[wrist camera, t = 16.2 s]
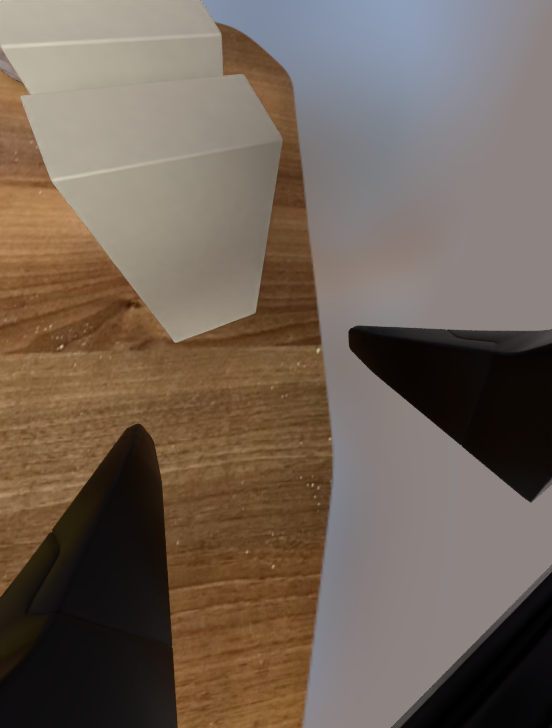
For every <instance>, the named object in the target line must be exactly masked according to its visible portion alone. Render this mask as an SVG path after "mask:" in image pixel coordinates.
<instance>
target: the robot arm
mask: <svg viewBox="0 0 552 728" xmlns="http://www.w3.org/2000/svg"><path fill="white" fill-rule="evenodd" d="M349 347H350V349H351V350H352V352H353V353H354V354H355V355H356V356H357V357H358V358H359V359H360V360H361V361H362V362H363V363H364V364H365V365H366V366H367V367H368V368H369V369H370V370H371V371H372V372H373V373H374V374H375V375H377V376H378V377H379V378H380V379H381V380H383V381H384V382H385V383H386V384H387V385H389V386H390V387H391V388H392V389H393V390H395V391H396V392H397V393H398V394H400V395H401V396H402V397H403V398H404V399H406V400H407V401H408V402H409V403H410V404H412V405H413V406H414V407H415V408H416V409H418V410H419V411H420V412H421V413H423V414H424V415H425V416H426V417H427V418H428V419H430V420H431V421H432V422H433V423H434V424H436V425H437V426H438V427H439V428H441V429H442V430H443V431H444V432H445V433H447V434H448V435H449V436H450V437H451V438H453V439H454V440H455V441H456V442H457V443H459V444H460V445H462V447H463V448H465V449H466V450H467V451H468V452H469V453H470V454H472V455H473V456H474V457H475V458H476V459H478V460H479V461H480V462H481V463H482V464H484V465H485V466H486V467H487V468H489V469H490V470H491V471H492V472H494V474H496V475H497V476H498V477H499V478H501V479H502V480H503V481H504V482H505V483H507V484H508V485H509V486H510V487H511V488H513V489H514V490H515V491H516V492H517V493H519V494H520V495H521V496H522V497H524V498H525V499H526V500H528V501H529V502H533V500H535V499H536V498H537V497H538V496H539V495H541V494H542V493H543V492H544V491H545V490H546V489H547V488H549V487H550V486H551V485H552V329H551V330H543V331H472V330H444V329H423V328H400V327H377V326H355V327H353V328H351V329H350V330H349ZM171 646H172V634H171V619H170V603H169V587H168V571H167V556H166V540H165V524H164V508H163V492H162V480H161V475H160V470H159V465H158V460H157V455H156V450H155V445H154V441H153V439H152V437H151V436H150V435H149V434H148V432H147V431H146V430H145V429H144V427H143V426H142V425H141V424H135V425H133V426H131V427H129V428H127V429H126V430H125V431H124V433H123V434H122V435H121V437H120V438H119V439H118V441H117V442H116V443H115V445H114V446H113V448H112V449H111V450H110V452H109V453H108V454H107V456H106V457H105V458H104V460H103V461H102V463H101V464H100V465H99V467H98V468H97V469H96V471H95V472H94V473H93V475H92V476H91V477H90V479H89V480H88V482H87V483H86V484H85V486H84V487H83V488H82V490H81V491H80V492H79V494H78V495H77V497H76V498H75V499H74V501H73V502H72V503H71V505H70V506H69V507H68V509H67V510H66V511H65V513H64V514H63V516H62V517H61V518H60V520H59V521H58V522H57V524H56V525H55V526H54V528H53V529H52V532H51V533H49V534H48V536H47V537H46V539H45V540H44V541H43V543H42V544H41V545H40V547H39V548H38V549H37V551H36V552H35V553H34V555H33V556H32V557H31V559H30V560H29V561H28V563H27V564H26V565H25V567H24V568H23V569H22V571H21V572H20V573H19V575H18V576H17V577H16V578H15V580H14V581H13V582H12V583H11V585H10V586H9V587H8V588H7V590H6V591H5V592H4V593H3V595H2V596H1V597H0V728H178V726H177V710H176V694H175V679H174V663H173V648H172V647H171ZM391 728H552V565H551V566H550V567H549V568H548V569H547V570H546V571H545V572H544V573H543V574H542V575H541V576H540V577H539V578H538V579H537V580H536V581H535V582H534V583H533V584H532V585H531V586H530V587H529V588H528V589H527V590H526V591H525V592H524V593H523V594H522V595H521V596H520V597H519V598H518V600H516V601H515V603H514V604H513V605H512V606H511V607H510V608H509V609H508V610H507V611H506V612H505V613H504V614H503V615H502V616H501V617H500V618H499V619H498V620H497V621H496V622H495V623H494V624H493V625H492V626H491V627H490V628H489V629H488V630H487V631H486V632H485V633H484V634H483V635H482V636H481V637H480V638H479V639H478V640H477V641H476V642H475V643H474V644H473V645H472V646H471V647H470V648H469V649H468V650H467V651H466V652H465V653H464V654H463V655H462V656H461V658H459V659H458V660H457V661H456V662H455V663H454V664H453V665H452V666H451V667H450V669H449V670H448V671H446V672H445V674H444V675H443V676H442V677H441V678H440V679H439V680H438V681H437V682H436V683H435V684H434V685H433V686H432V687H431V688H430V689H429V690H428V691H427V692H426V693H425V694H424V695H423V696H422V697H421V698H420V699H419V700H418V701H417V702H416V703H415V704H414V705H413V706H412V707H411V708H410V709H409V710H408V711H407V712H406V713H405V714H404V715H403V716H402V717H401V718H400V719H399V720H398V721H397V722H396V723H395V724H394V725H393V726H392V727H391Z"/></svg>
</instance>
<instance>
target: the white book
mask: <svg viewBox="0 0 552 728" xmlns="http://www.w3.org/2000/svg"><path fill="white" fill-rule="evenodd" d="M21 101H22V103H23V106H24V109H25V111H26V114H27V117H28V120H29V122H30V125H31V128H32V130H33V133H34V136H35V139H36V141H37V144H38V147H39V149H40V152H41V155H42V157H43V160H44V163H45V166H46V168H47V171H48V174H49V176H50V179H51V181H52V183H53V184H54V185H55V187H56V188H57V189H58V191H59V192H60V193H61V195H62V196H63V197H64V198H65V200H66V201H67V202H68V204H69V205H70V206H71V208H72V209H73V210H74V212H75V213H76V214H77V215H78V217H79V218H80V219H81V221H82V222H83V223H84V225H85V226H86V227H87V229H88V230H89V231H90V232H91V234H92V235H93V236H94V238H95V239H96V240H97V242H98V243H99V244H100V246H101V247H102V248H103V249H104V251H105V252H106V253H107V255H108V256H109V257H110V259H111V260H112V261H113V263H114V264H115V265H116V266H117V268H118V269H119V270H120V272H121V273H122V274H123V276H124V277H125V278H126V280H127V281H128V282H129V283H130V285H131V286H132V287H133V289H134V290H135V291H136V293H137V294H138V295H139V297H140V298H141V299H142V301H143V302H144V303H145V304H146V306H147V307H148V308H149V310H150V311H151V312H152V314H153V315H154V316H155V318H156V319H157V320H158V321H159V323H160V324H161V325H162V327H163V328H164V329H165V331H166V332H167V333H168V335H169V336H170V337H171V338H172V340H173V341H174V342H175V343H177V342H180V341H182V340H185V339H188V338H191V337H193V336H196V335H199V334H201V333H204V332H207V331H209V330H212V329H215V328H217V327H220V326H223V325H225V324H228V323H231V322H233V321H236V320H239V319H242V318H244V317H247V316H250V315H252V314H255V313H256V308H257V301H258V295H259V289H260V282H261V276H262V269H263V263H264V257H265V250H266V244H267V237H268V231H269V224H270V218H271V212H272V205H273V199H274V192H275V186H276V179H277V173H278V167H279V160H280V154H281V147H282V141H283V140H282V137H281V135H280V133H279V132H278V130H277V128H276V127H275V125H274V123H273V122H272V120H271V118H270V117H269V115H268V113H267V112H266V110H265V108H264V107H263V105H262V103H261V102H260V100H259V98H258V97H257V95H256V93H255V92H254V90H253V88H252V87H251V85H250V83H249V82H248V80H247V78H246V77H245V75H244V74H236V75H226V76H216V77H206V78H196V79H185V80H175V81H165V82H155V83H145V84H134V85H124V86H114V87H104V88H94V89H83V90H73V91H63V92H53V93H43V94H32V95H22V96H21Z"/></svg>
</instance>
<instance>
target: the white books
mask: <svg viewBox="0 0 552 728" xmlns="http://www.w3.org/2000/svg"><path fill="white" fill-rule="evenodd" d="M0 47H1V49H2V50H3V52H4V54H5V55H6V57H7V58H8V60H9V62H10V63H11V65H12V66H13V68H14V70H15V71H16V73H17V74H18V76H19V77H20V79H21V81H22V82H23V84H24V85H25V87H26V89H27V90H28V92H29V93H30V95H32V94H43V93H53V92H63V91H73V90H83V89H94V88H104V87H114V86H124V85H134V84H145V83H155V82H165V81H175V80H185V79H196V78H206V77H216V76H223V56H222V35H221V32H220V31H219V29H218V27H217V26H216V24H215V22H214V21H213V19H212V18H211V16H210V14H209V13H208V11H207V9H206V8H205V6H204V5H203V3H202V2H201V0H0Z"/></svg>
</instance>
